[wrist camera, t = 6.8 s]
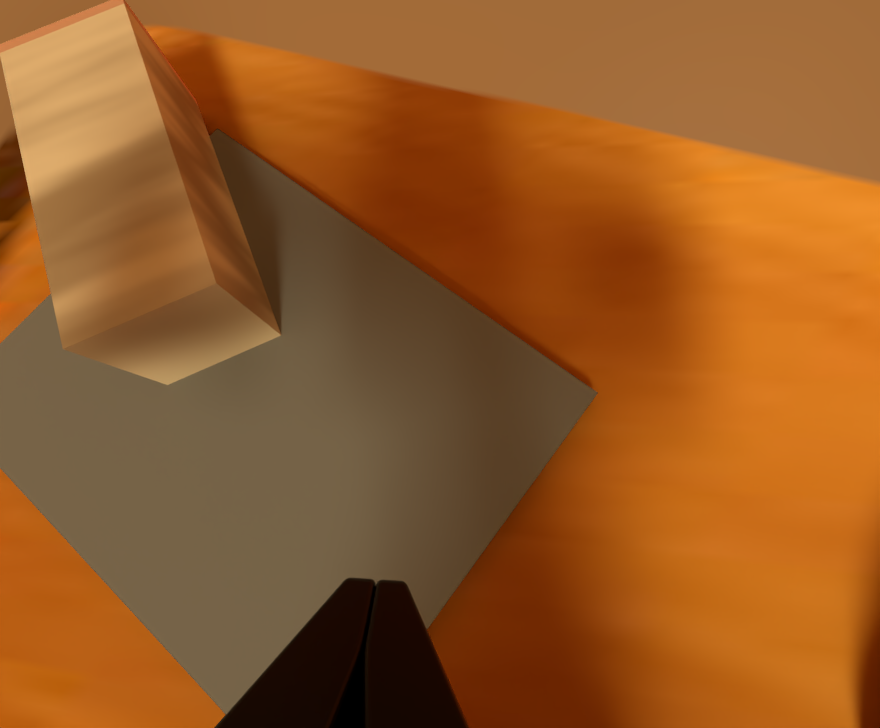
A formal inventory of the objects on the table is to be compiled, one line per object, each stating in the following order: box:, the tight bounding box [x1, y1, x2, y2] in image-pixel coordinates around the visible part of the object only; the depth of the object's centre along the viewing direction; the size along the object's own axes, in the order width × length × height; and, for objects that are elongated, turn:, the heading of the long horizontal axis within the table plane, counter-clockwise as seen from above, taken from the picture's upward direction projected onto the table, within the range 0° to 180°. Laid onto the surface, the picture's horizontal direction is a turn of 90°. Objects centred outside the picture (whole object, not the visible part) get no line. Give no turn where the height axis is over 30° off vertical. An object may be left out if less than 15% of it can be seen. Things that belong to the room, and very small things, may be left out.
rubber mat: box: [0, 128, 597, 714], centre depth 17 cm, size 15×19×1 cm
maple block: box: [0, 0, 281, 385], centre depth 17 cm, size 4×4×12 cm
